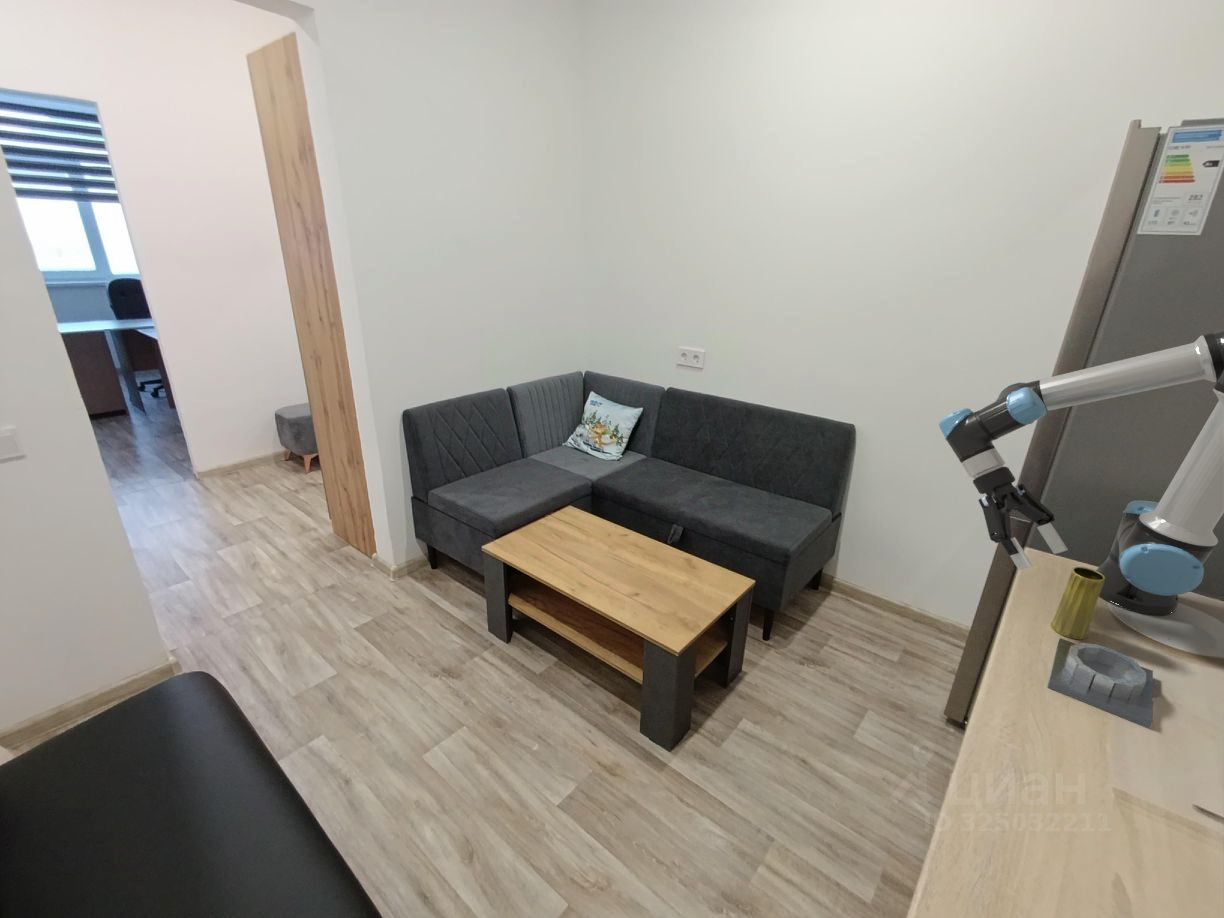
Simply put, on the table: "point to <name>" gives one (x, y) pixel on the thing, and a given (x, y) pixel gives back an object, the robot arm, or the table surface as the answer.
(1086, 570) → the vase
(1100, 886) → the table surface
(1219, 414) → the robot arm
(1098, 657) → the collar stand
